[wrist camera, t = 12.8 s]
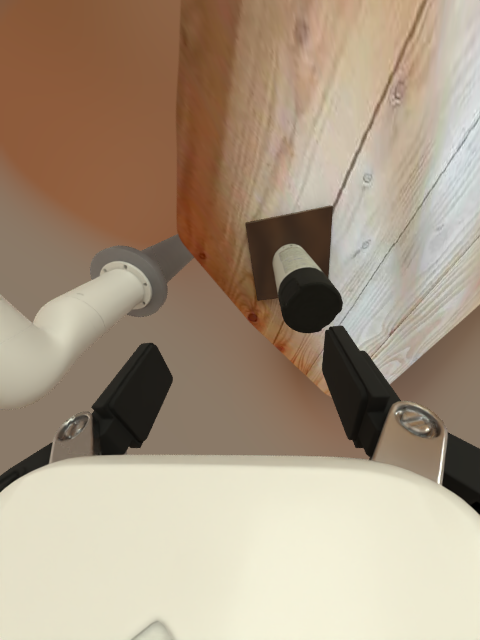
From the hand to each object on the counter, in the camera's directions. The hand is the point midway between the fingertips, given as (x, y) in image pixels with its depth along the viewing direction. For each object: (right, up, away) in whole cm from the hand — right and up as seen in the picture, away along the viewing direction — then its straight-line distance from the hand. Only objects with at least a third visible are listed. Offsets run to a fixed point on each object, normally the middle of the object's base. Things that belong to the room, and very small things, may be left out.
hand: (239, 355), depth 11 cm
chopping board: (+10, +15, +28) cm, 33 cm away
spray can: (+10, +14, +27) cm, 32 cm away
